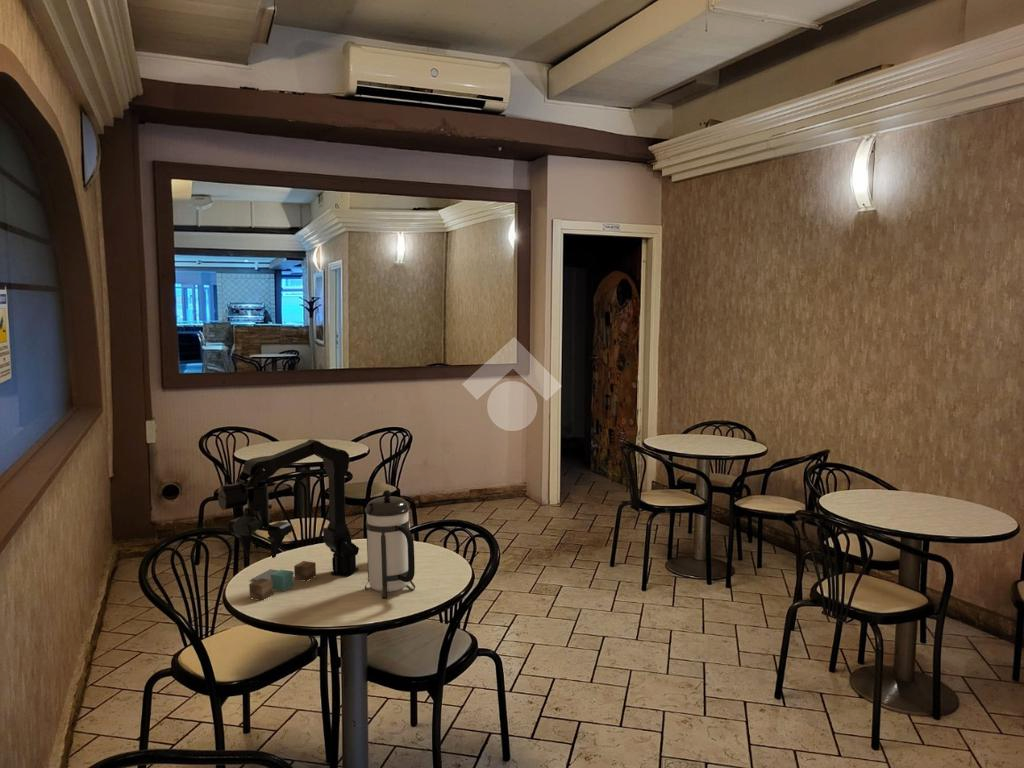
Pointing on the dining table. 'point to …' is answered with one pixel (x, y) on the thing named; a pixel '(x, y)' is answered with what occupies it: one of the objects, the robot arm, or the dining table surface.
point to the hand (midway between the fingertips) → (260, 555)
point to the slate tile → (265, 575)
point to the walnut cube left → (261, 589)
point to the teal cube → (282, 579)
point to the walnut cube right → (305, 570)
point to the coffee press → (389, 544)
